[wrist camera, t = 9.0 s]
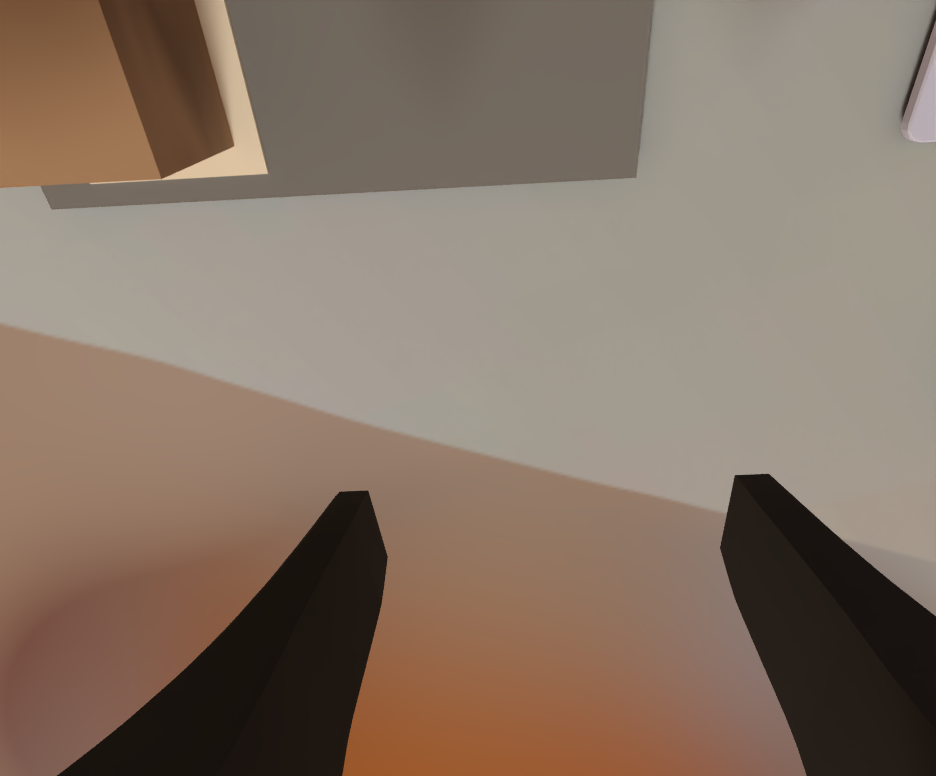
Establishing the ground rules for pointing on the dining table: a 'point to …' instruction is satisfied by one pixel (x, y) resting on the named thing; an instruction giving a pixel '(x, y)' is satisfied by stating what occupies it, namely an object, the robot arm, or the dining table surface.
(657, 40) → the dining table surface
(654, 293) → the dining table surface
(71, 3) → the brown rectangular block
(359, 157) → the mat
